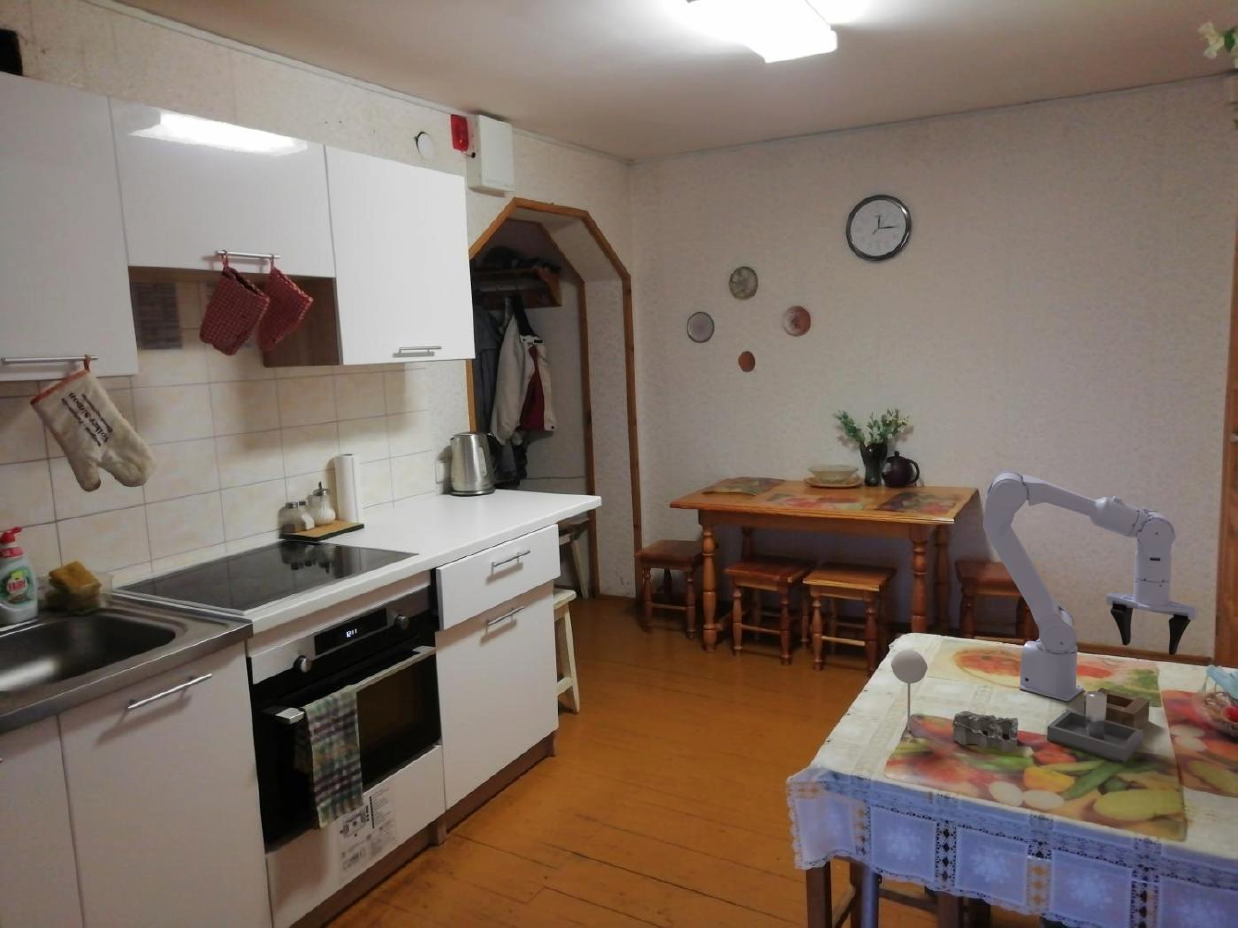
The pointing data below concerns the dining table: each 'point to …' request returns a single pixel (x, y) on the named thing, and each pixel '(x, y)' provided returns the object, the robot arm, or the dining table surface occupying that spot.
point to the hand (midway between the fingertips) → (1149, 648)
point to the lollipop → (909, 671)
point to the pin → (1095, 714)
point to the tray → (1116, 744)
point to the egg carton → (972, 725)
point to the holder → (1125, 709)
